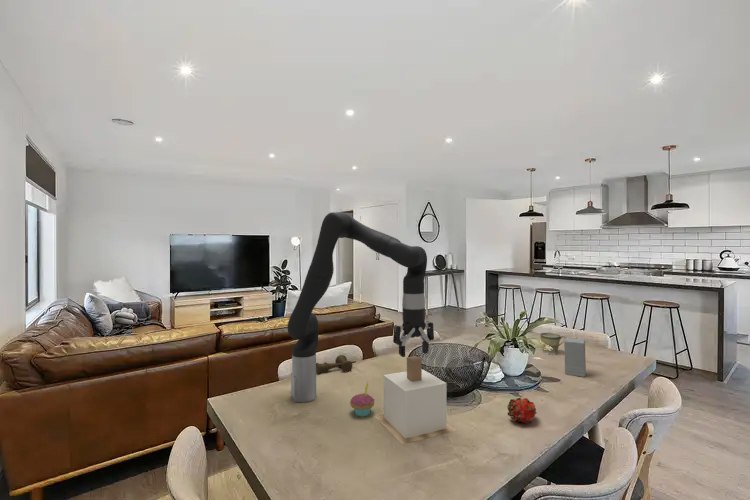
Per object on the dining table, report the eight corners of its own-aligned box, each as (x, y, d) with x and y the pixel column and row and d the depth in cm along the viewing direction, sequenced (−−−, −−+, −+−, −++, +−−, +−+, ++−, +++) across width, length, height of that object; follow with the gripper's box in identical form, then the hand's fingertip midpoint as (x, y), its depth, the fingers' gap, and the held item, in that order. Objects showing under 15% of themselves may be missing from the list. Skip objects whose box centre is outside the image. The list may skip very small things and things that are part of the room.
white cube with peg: (405, 438, 116) (405, 368, 116) (383, 417, 130) (383, 354, 129) (446, 428, 123) (446, 361, 122) (421, 409, 136) (421, 349, 136)
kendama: (313, 371, 180) (353, 364, 188) (319, 378, 171) (360, 371, 179) (313, 359, 180) (352, 352, 188) (318, 365, 171) (359, 358, 179)
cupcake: (375, 409, 137) (375, 377, 137) (373, 421, 129) (372, 386, 129) (352, 408, 138) (352, 376, 138) (348, 420, 130) (348, 385, 129)
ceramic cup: (543, 355, 201) (543, 336, 201) (538, 349, 211) (538, 332, 211) (569, 356, 199) (569, 337, 199) (562, 350, 209) (563, 333, 209)
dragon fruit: (505, 428, 127) (531, 425, 132) (523, 422, 121) (549, 419, 126) (497, 402, 131) (522, 400, 137) (514, 394, 125) (539, 393, 131)
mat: (402, 446, 113) (402, 444, 113) (374, 417, 131) (374, 416, 131) (457, 431, 121) (457, 430, 121) (423, 407, 140) (423, 405, 140)
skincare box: (585, 373, 174) (586, 339, 173) (584, 378, 168) (585, 342, 167) (565, 370, 178) (565, 336, 178) (563, 374, 172) (564, 340, 172)
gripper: (400, 310, 119) (400, 361, 119) (438, 306, 125) (438, 355, 125) (389, 306, 126) (389, 354, 126) (425, 303, 132) (426, 349, 132)
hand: (414, 354), depth 126 cm, fingers open, 8 cm apart
